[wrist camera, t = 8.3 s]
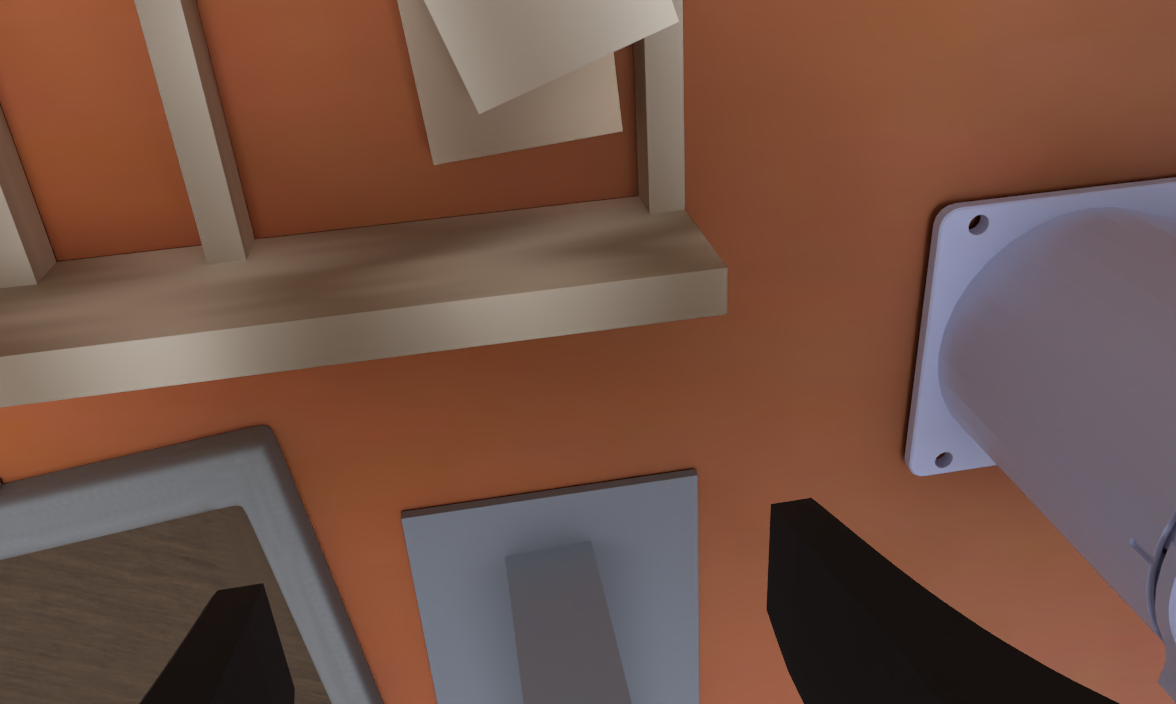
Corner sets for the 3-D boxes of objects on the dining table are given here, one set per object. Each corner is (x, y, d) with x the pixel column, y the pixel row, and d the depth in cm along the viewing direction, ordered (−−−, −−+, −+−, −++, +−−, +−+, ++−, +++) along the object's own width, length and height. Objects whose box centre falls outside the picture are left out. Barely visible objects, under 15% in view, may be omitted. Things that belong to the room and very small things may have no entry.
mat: (695, 468, 26) (697, 474, 26) (697, 760, 32) (699, 767, 31) (401, 511, 25) (401, 518, 25) (458, 803, 31) (458, 811, 31)
